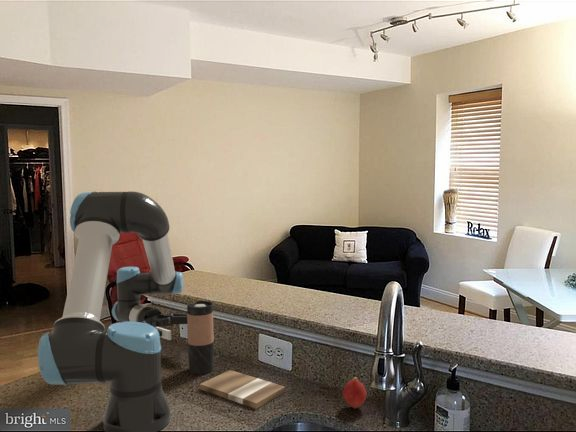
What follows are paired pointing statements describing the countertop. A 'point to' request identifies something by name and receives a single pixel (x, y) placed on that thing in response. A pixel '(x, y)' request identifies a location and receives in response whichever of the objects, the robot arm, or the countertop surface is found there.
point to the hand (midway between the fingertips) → (188, 329)
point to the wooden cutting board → (243, 388)
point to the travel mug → (200, 337)
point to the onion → (354, 393)
